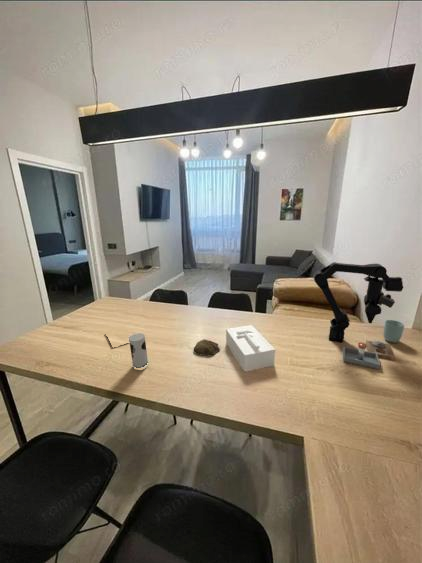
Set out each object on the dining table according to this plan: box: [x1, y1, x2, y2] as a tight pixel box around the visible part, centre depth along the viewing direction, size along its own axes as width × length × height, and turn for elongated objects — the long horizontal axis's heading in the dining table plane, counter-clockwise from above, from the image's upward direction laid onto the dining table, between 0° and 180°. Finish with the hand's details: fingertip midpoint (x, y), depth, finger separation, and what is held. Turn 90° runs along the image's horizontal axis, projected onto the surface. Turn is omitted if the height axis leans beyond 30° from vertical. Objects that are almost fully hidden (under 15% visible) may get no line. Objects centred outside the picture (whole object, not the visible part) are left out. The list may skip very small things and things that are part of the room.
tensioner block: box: [365, 340, 396, 361], centre depth 117 cm, size 10×12×3 cm
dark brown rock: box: [193, 338, 221, 356], centre depth 123 cm, size 13×12×5 cm
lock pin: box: [357, 342, 367, 360], centre depth 109 cm, size 3×3×8 cm
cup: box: [382, 319, 405, 344], centre depth 124 cm, size 8×8×10 cm
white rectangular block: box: [225, 324, 276, 372], centre depth 117 cm, size 14×25×11 cm, turn 15°
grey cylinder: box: [129, 333, 149, 368], centre depth 109 cm, size 7×7×15 cm
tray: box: [342, 346, 381, 371], centre depth 110 cm, size 14×10×2 cm
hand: (369, 319), depth 121 cm, fingers open, 9 cm apart
